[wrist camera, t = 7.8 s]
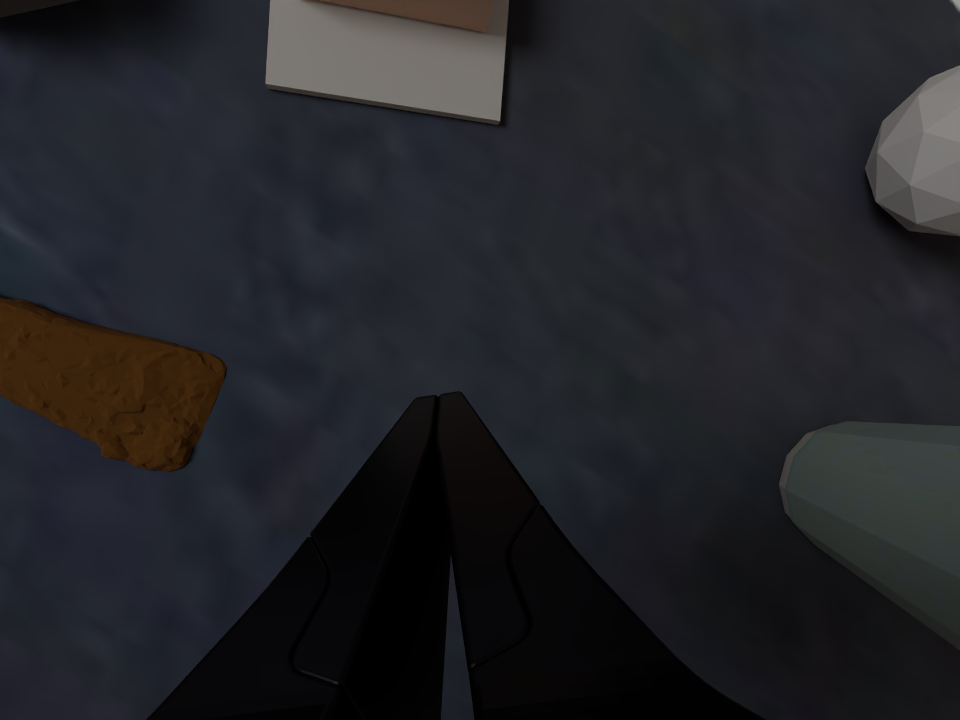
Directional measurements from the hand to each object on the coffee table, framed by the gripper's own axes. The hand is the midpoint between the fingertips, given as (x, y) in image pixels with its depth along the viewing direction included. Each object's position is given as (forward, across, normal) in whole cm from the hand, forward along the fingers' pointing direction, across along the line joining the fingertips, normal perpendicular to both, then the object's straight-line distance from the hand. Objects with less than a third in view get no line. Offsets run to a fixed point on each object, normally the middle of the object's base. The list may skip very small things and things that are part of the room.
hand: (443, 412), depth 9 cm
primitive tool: (+11, +19, +1) cm, 22 cm away
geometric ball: (+19, -24, +3) cm, 31 cm away
